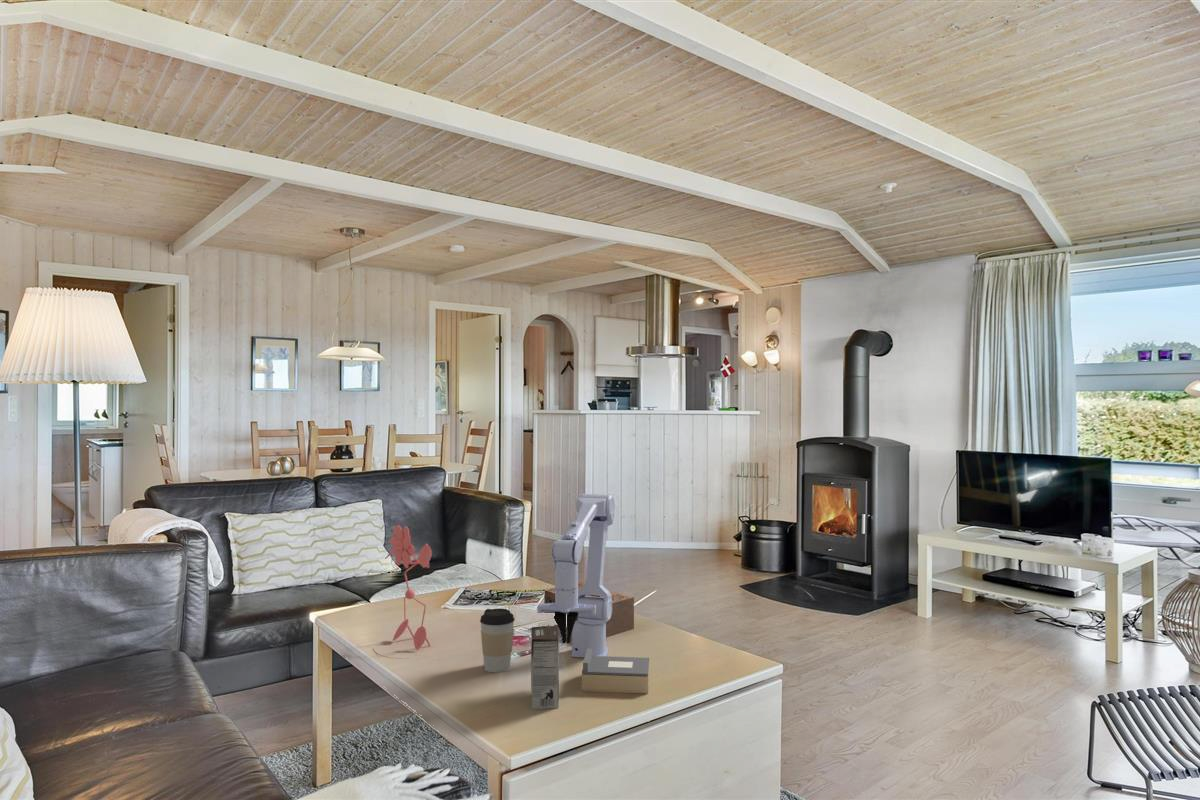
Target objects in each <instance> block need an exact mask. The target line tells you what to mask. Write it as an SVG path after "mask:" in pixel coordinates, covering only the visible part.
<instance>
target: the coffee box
mask: <svg viewBox="0 0 1200 800" xmlns="http://www.w3.org/2000/svg"><path fill="white" fill-rule="evenodd" d="M530 631H531V632H530V634H531V635H530V636H531V638H530V639H531V641H530V648H531V649H530V652H531V653H530V654H531V655H530V672H531V673H530V674H531V675H530V679H531V680H530V684H531V685H530V687H531V688H530V689H531V693H530V694H531V709H532V710H537V709H538V710H540V709H541V710H542V709H543V710H544V709H558V708H559V699H560V698H559V692H560V691H559V690H560V688H559V687H560V683H559V682H560V677H559V676H560V673H559V672H560V637H559V627H558V626H532V627H531V630H530Z"/></svg>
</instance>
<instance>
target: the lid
mask: <svg viewBox="0 0 1200 800" xmlns="http://www.w3.org/2000/svg"><path fill="white" fill-rule="evenodd" d="M648 671H649V672H650V657H638V656H637V657H636V656H634V657H633V656H632V657H631V656H608V655H607V656H592V649H587V652H586V655H585V657H583V661H582V671H581V675H582V674H606V675H635V676H648Z"/></svg>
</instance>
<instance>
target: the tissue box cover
mask: <svg viewBox="0 0 1200 800" xmlns="http://www.w3.org/2000/svg"><path fill="white" fill-rule="evenodd" d="M585 585H586V583H581V582H578V590H579V589H580V588H582V587H583V586H585ZM608 591H609V592H610V593H611V596H612V614H611V618H610V619H609V620H608V621H607V622H606V639H607V638H610V637H613V636H616V635H618V634H622V633H625V632H628V631H632V630H634V629H635V596H631V595H627V594H624V593H619V592H616V591H611V590H608ZM543 595H544V597H543V598H544V599H543V600H544V602H543V604H545V603H555V587H552V588H548V589H544V594H543ZM585 597H596V598H603V597H601V596H596V595H586V596H585ZM566 614H567V615H568V614H569V613H566ZM576 621H578V619H576Z"/></svg>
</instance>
